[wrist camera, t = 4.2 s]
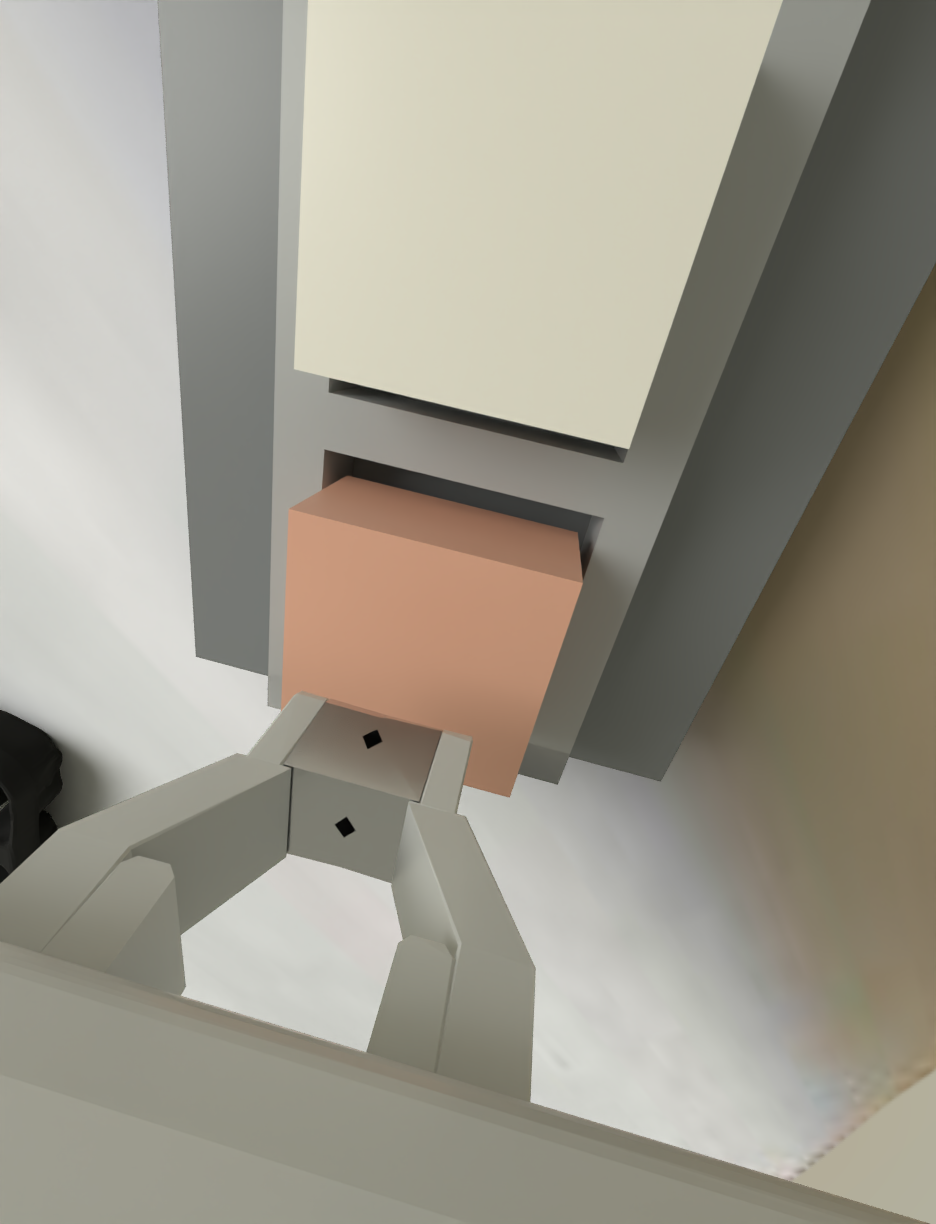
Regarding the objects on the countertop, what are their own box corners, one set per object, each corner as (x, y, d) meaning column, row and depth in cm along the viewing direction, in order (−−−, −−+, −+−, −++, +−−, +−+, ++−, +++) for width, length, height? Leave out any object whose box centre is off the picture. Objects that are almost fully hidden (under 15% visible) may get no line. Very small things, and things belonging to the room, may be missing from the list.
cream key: (357, 365, 11) (293, 369, 8) (390, -4, 8) (314, -166, 6) (611, 425, 11) (628, 449, 8) (727, 64, 8) (807, -74, 6)
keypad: (244, 616, 20) (154, 690, 16) (236, -832, 8) (-171, -2331, 3) (646, 722, 19) (673, 831, 15) (1322, -695, 7) (2545, -2378, 3)
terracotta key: (329, 666, 15) (280, 734, 12) (347, 475, 12) (288, 508, 10) (518, 716, 15) (509, 797, 12) (577, 532, 12) (582, 583, 9)
